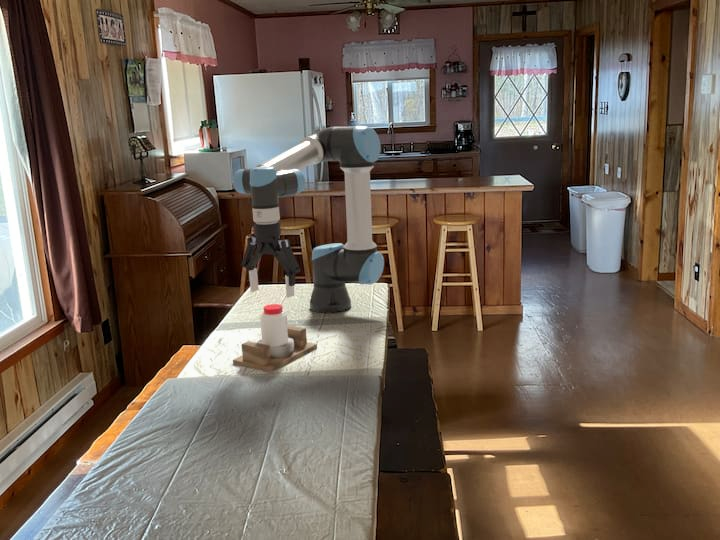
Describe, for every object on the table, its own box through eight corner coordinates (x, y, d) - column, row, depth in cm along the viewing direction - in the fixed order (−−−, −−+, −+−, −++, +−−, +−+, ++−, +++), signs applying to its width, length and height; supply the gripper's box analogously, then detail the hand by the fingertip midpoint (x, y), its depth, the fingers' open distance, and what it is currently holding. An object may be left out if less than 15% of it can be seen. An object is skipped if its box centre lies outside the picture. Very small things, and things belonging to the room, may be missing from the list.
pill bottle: (290, 337, 205) (288, 302, 202) (285, 346, 198) (283, 310, 195) (265, 337, 206) (262, 303, 203) (259, 346, 198) (256, 310, 196)
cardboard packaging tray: (281, 340, 215) (280, 322, 214) (316, 347, 208) (315, 328, 206) (233, 363, 198) (231, 343, 196) (270, 372, 190) (268, 351, 189)
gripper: (225, 221, 197) (231, 291, 202) (293, 227, 183) (298, 302, 189) (242, 217, 203) (248, 285, 208) (309, 222, 189) (314, 295, 195)
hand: (272, 293), depth 198 cm, fingers open, 13 cm apart
